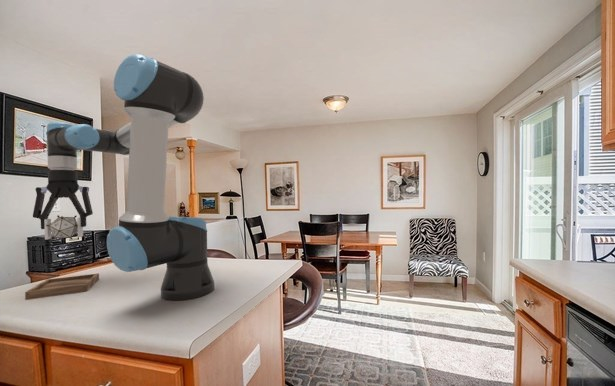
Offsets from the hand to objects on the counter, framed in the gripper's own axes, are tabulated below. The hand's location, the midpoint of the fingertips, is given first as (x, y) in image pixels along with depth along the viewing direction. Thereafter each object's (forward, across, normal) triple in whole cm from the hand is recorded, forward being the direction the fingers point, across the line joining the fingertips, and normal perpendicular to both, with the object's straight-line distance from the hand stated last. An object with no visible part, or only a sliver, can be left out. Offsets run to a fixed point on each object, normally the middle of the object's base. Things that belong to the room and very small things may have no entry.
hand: (64, 237), depth 96 cm
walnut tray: (+17, 0, 0) cm, 17 cm away
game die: (+1, 0, 0) cm, 1 cm away
